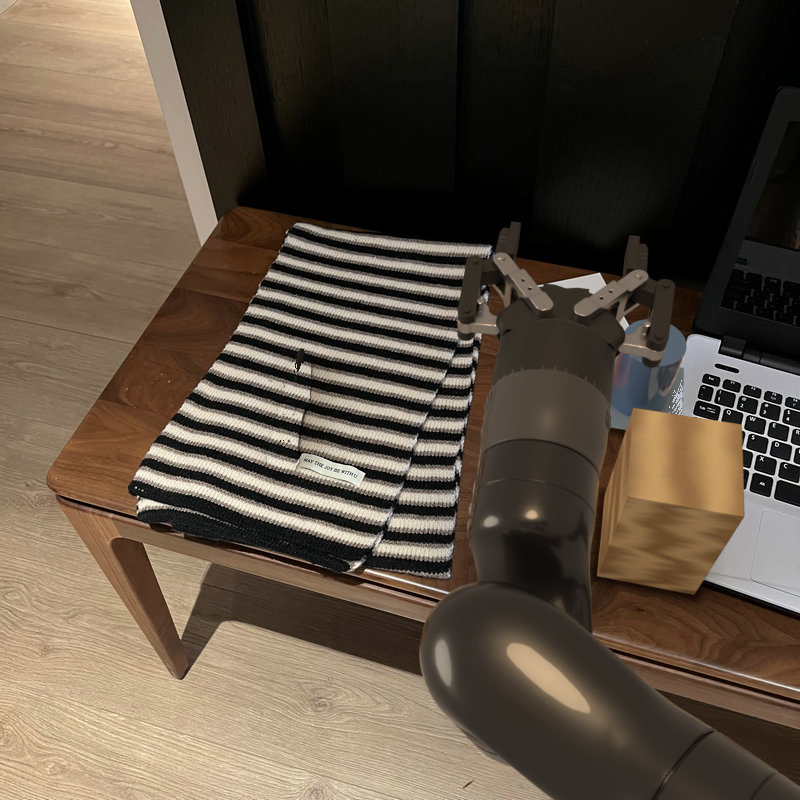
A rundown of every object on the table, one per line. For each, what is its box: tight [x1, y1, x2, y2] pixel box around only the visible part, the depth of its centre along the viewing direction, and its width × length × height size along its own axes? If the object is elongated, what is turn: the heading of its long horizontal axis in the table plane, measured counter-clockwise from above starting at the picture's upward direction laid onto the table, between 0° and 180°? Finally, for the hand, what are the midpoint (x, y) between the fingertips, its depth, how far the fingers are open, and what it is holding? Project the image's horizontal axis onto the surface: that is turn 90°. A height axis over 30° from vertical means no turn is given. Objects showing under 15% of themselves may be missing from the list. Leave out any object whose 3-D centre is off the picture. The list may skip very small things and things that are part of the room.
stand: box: [596, 408, 746, 596], centre depth 70 cm, size 9×9×16 cm
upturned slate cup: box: [611, 318, 688, 416], centre depth 83 cm, size 6×6×9 cm
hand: (573, 237), depth 57 cm, fingers open, 8 cm apart
